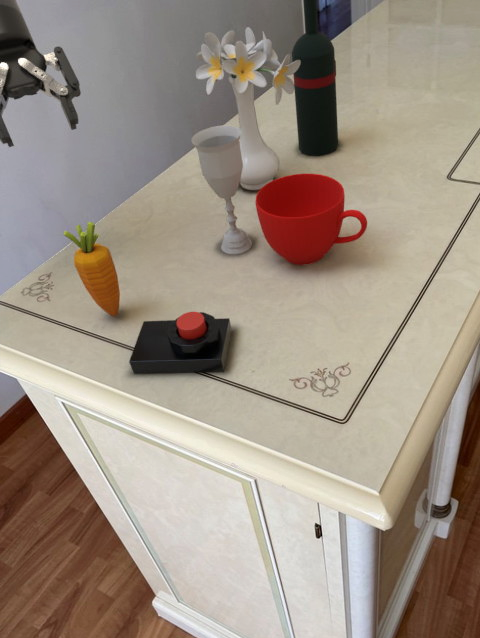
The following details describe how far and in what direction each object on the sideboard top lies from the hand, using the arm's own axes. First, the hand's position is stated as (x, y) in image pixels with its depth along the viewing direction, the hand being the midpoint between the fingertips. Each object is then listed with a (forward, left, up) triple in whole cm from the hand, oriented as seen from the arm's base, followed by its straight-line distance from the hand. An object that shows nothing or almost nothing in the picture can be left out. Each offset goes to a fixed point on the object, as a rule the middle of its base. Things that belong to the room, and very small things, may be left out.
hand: (42, 135), depth 79 cm
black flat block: (+18, -20, -22) cm, 35 cm away
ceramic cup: (+35, +1, -22) cm, 42 cm away
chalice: (+22, +5, -22) cm, 32 cm away
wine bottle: (+35, +40, -22) cm, 58 cm away
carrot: (+6, -11, -22) cm, 26 cm away
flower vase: (+24, +26, -22) cm, 42 cm away
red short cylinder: (+20, -20, -18) cm, 34 cm away
